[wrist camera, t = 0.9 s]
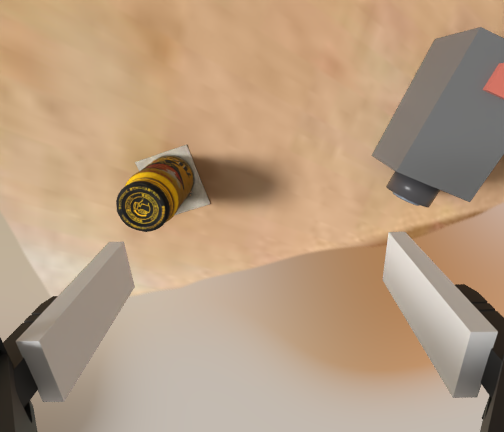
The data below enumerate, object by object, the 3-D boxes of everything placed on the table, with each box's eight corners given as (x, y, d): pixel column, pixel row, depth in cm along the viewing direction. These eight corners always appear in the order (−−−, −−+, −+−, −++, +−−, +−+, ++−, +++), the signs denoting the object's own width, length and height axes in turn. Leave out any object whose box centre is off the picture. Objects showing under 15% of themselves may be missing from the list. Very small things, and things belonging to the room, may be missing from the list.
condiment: (186, 144, 41) (158, 166, 30) (210, 203, 44) (193, 244, 33) (135, 161, 42) (90, 189, 31) (162, 218, 45) (129, 262, 34)
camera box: (435, 38, 35) (485, 25, 27) (503, 71, 36) (571, 68, 28) (361, 175, 42) (384, 196, 34) (421, 199, 43) (458, 226, 35)
